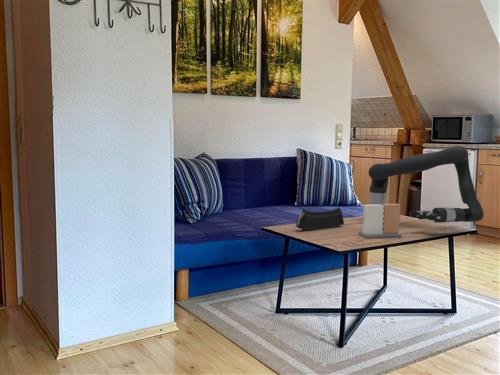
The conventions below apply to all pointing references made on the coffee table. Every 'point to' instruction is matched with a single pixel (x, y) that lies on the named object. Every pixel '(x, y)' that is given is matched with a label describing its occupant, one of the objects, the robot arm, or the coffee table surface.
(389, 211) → the brown rectangular block
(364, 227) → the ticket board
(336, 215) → the magazine
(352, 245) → the coffee table surface
